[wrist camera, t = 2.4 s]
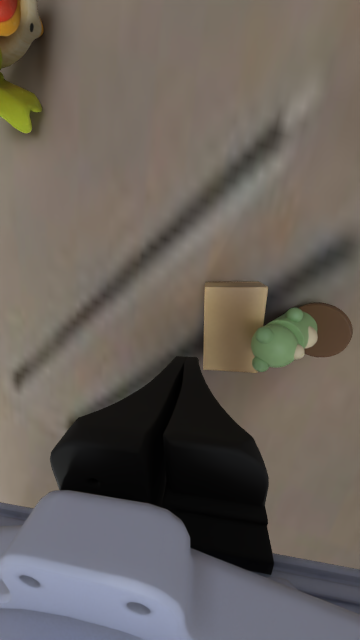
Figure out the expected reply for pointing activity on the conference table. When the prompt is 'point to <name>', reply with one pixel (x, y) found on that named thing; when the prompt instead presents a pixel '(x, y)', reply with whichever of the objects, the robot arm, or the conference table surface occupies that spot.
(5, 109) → the bird rattle
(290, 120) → the conference table surface
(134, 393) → the robot arm
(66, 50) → the conference table surface
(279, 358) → the green figurine on base
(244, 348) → the beech block
